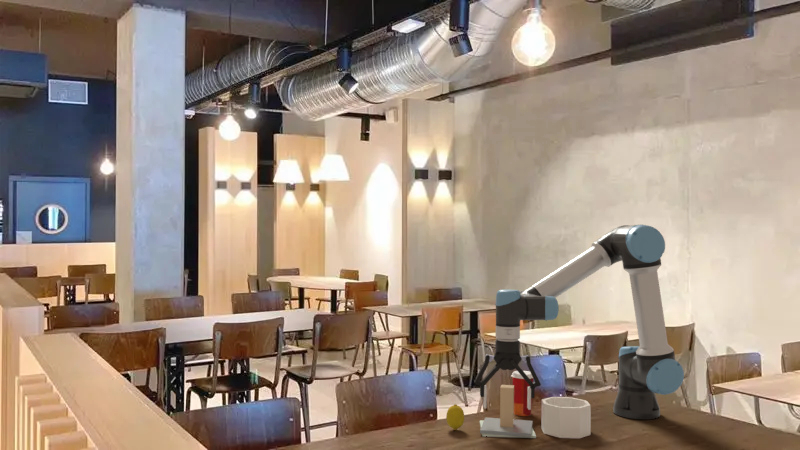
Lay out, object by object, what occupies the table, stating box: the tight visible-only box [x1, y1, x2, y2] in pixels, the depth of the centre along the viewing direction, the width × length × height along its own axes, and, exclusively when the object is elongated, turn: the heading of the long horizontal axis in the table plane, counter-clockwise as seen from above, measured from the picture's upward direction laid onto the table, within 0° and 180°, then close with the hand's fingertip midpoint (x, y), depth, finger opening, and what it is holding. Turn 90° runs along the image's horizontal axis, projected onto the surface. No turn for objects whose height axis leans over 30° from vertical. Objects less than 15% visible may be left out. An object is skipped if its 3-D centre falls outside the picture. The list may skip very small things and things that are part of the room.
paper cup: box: [510, 370, 534, 417], centre depth 236 cm, size 8×8×14 cm
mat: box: [479, 419, 537, 439], centre depth 216 cm, size 16×16×1 cm
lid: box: [479, 384, 534, 437], centre depth 215 cm, size 15×15×13 cm
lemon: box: [445, 403, 465, 431], centre depth 215 cm, size 6×6×8 cm
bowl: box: [540, 396, 592, 439], centre depth 215 cm, size 14×14×9 cm
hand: (507, 408), depth 216 cm, fingers open, 13 cm apart
